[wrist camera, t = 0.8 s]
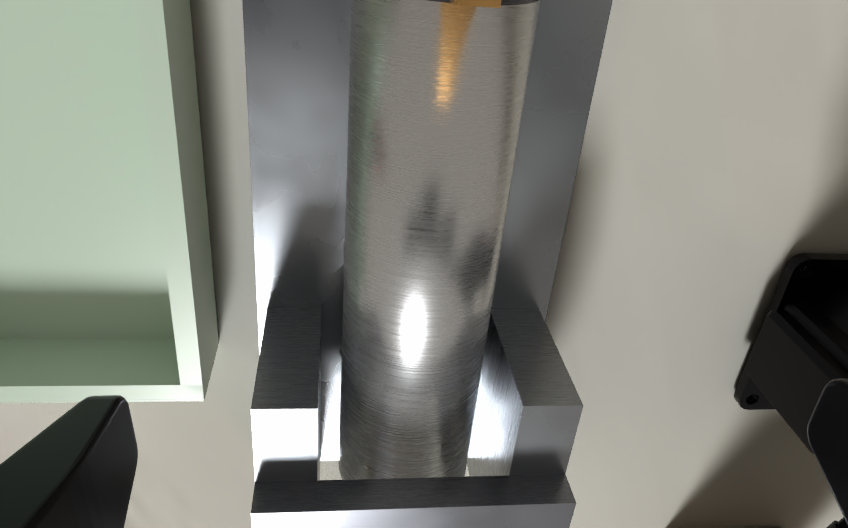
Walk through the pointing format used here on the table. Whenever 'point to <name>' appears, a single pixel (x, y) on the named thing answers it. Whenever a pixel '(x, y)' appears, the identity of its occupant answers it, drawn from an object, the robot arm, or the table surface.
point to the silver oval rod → (425, 223)
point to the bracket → (324, 279)
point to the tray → (102, 204)
